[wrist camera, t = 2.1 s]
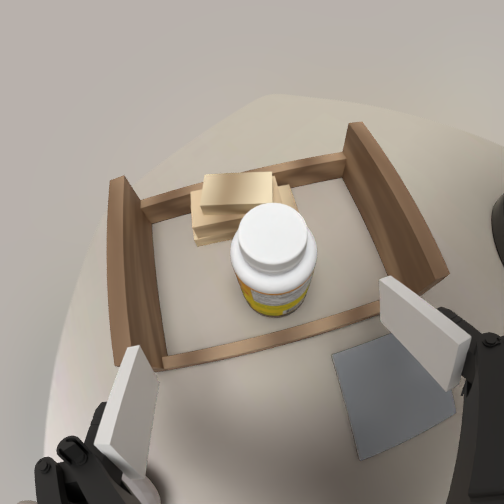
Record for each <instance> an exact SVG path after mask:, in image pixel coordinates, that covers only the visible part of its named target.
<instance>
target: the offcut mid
mask: <svg viewBox="0 0 504 504" xmlns="http://www.w3.org/2000/svg"><path fill="white" fill-rule="evenodd" d="M272 181H273V203H281V204H282V200H281V196H280V193H279V189H278V185H277V182H276V178H275V176H272ZM190 193H191V212H192V228H193V230H194V232H195V234H196V235H197V237H198V239H199V238H204V237H209V236H214V235H219V234H225V233H230V232H235V231H237V230H238V228H239V225H240V222H241V220H242V218H243V217H244V216H245V215H246V214H226V215H204V214H203V212H202V209H201V207H200V202H201V195H202V189H201V190H196V191H192V192H190Z"/></svg>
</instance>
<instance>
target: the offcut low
mask: <svg viewBox="0 0 504 504" xmlns="http://www.w3.org/2000/svg"><path fill="white" fill-rule="evenodd" d="M278 189H279V193H280V196H281V200H282V204H285V205H287V206H290V207H292V208H293V209H295V210H296V211H297V212H298V209H297V206H296V203H295V200H294V197H293V194H292V191H291V188H290V185H289V184H288V185H283V186H278ZM190 206H191V205H190ZM298 213H299V212H298ZM191 216H192V212H191ZM236 232H237V231H235V232H230V233H225V234H219V235H214V236H209V237H204V238H199V239H198V237H197V235H196V234H195V232H194V230H193V234H194V241H195V243H196V244H197V246H198V247H199V246H203V245H208V244H212V243H217V242H221V241H226V240H231V239H233V237H234V235H235V233H236Z"/></svg>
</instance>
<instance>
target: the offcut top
mask: <svg viewBox="0 0 504 504" xmlns="http://www.w3.org/2000/svg"><path fill="white" fill-rule="evenodd" d="M266 203H273V181H272V172H246V173H225V174H208V175H205V176H204V182H203V189H202V195H201V202H200V207H201V209H202V212H203V214H204V215H226V214H246V213H248V212H249V211H250V210H251V209H253V208H254V207H256V206H259V205H261V204H266Z"/></svg>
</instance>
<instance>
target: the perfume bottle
mask: <svg viewBox="0 0 504 504" xmlns="http://www.w3.org/2000/svg"><path fill="white" fill-rule="evenodd" d="M122 480H123V481H124V482H125V483H126V484H127V486H128V487H129V488H130V490H131V491H132V492H133V493H134V495H135V496H136V497H137V498H138V500H139V501H140V502H141V503H142V504H161V501H160V496H159V494H158V492H157V489H156V488H155V486H154V485H153V483H152V482H151V481H150V479H148V478H147V477H146V476H145V479H129V478H128V477H127V476H126V475H125V474H124V473H123V474H122ZM17 504H37V502H34V501H21V502H19V503H17Z"/></svg>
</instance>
